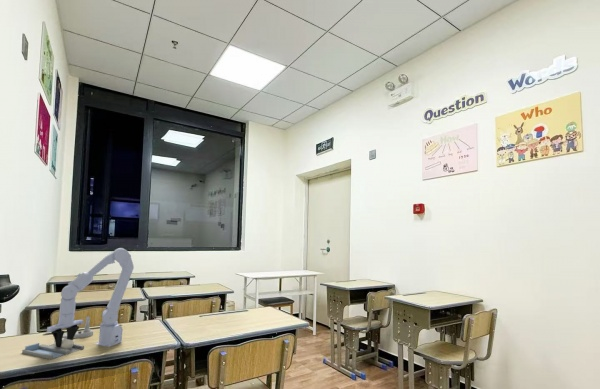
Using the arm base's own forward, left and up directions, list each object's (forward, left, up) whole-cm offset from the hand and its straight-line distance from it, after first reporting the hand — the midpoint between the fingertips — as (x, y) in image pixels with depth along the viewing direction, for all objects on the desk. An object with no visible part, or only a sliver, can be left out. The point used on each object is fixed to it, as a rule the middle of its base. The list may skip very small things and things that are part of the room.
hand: (63, 345), depth 145 cm
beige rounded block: (0, 0, -1) cm, 1 cm away
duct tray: (+1, +3, -2) cm, 4 cm away
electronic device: (+12, -13, -2) cm, 18 cm away
